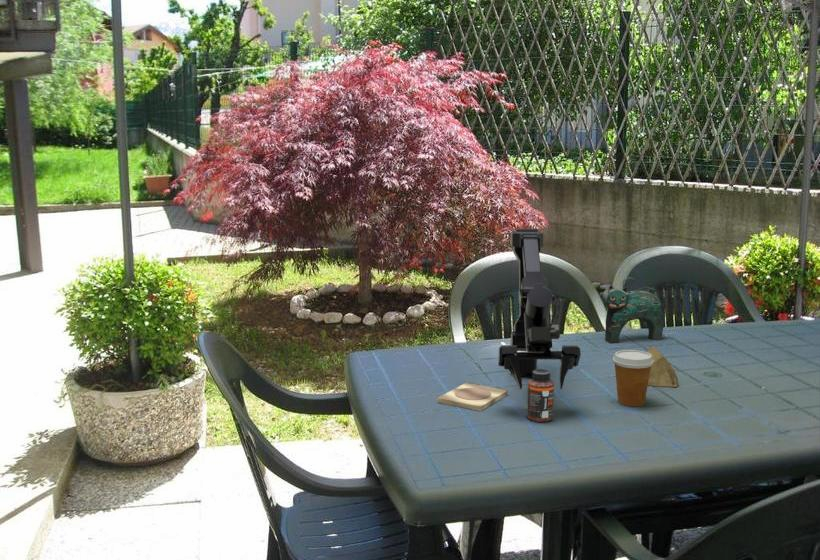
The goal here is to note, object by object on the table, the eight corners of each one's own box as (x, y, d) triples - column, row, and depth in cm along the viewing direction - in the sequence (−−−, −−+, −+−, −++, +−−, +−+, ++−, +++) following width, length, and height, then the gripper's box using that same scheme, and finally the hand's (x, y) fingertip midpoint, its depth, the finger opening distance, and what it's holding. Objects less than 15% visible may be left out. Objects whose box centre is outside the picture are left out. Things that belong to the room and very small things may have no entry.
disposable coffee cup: (629, 411, 205) (631, 362, 203) (603, 399, 213) (604, 352, 211) (660, 404, 209) (662, 356, 207) (632, 393, 218) (634, 347, 215)
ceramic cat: (606, 344, 263) (608, 280, 260) (597, 339, 270) (599, 276, 266) (666, 340, 267) (669, 277, 264) (656, 335, 274) (659, 273, 270)
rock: (689, 377, 224) (660, 363, 231) (680, 356, 219) (651, 343, 227) (664, 405, 221) (635, 390, 229) (654, 385, 216) (626, 371, 224)
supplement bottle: (552, 423, 197) (553, 375, 195) (526, 422, 199) (527, 374, 196) (553, 414, 203) (554, 368, 201) (528, 413, 204) (529, 367, 202)
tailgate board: (467, 386, 225) (467, 381, 224) (509, 393, 218) (509, 388, 218) (437, 402, 212) (437, 397, 212) (480, 411, 206) (480, 405, 206)
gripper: (499, 311, 201) (502, 371, 193) (580, 311, 201) (586, 371, 192) (497, 336, 211) (499, 394, 202) (574, 336, 210) (580, 394, 201)
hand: (541, 388), depth 199 cm, fingers open, 9 cm apart
